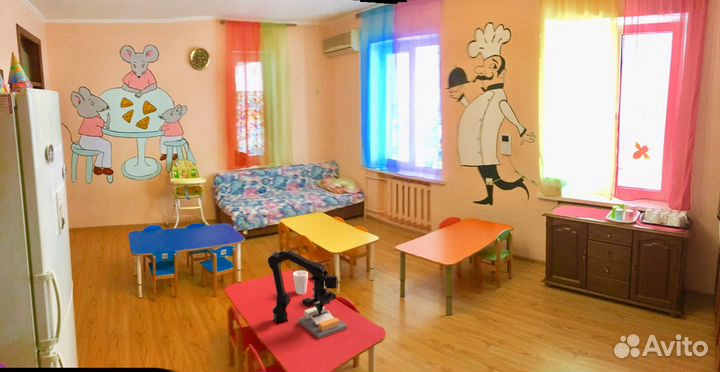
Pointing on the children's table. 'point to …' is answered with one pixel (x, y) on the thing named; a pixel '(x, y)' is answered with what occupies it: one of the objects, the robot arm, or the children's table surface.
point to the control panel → (315, 330)
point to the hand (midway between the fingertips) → (319, 313)
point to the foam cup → (300, 281)
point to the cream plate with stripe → (321, 317)
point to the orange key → (329, 324)
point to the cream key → (312, 311)
